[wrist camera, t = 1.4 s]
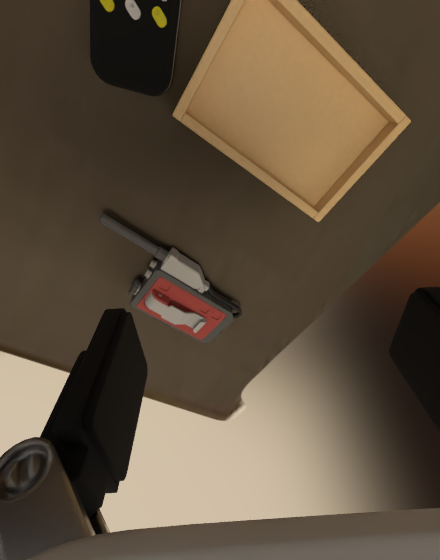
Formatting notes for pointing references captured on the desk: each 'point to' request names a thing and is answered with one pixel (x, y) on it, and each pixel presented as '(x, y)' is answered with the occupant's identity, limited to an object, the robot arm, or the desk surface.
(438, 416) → the robot arm
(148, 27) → the remote control
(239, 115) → the tray
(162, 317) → the walkie-talkie
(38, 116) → the desk surface
